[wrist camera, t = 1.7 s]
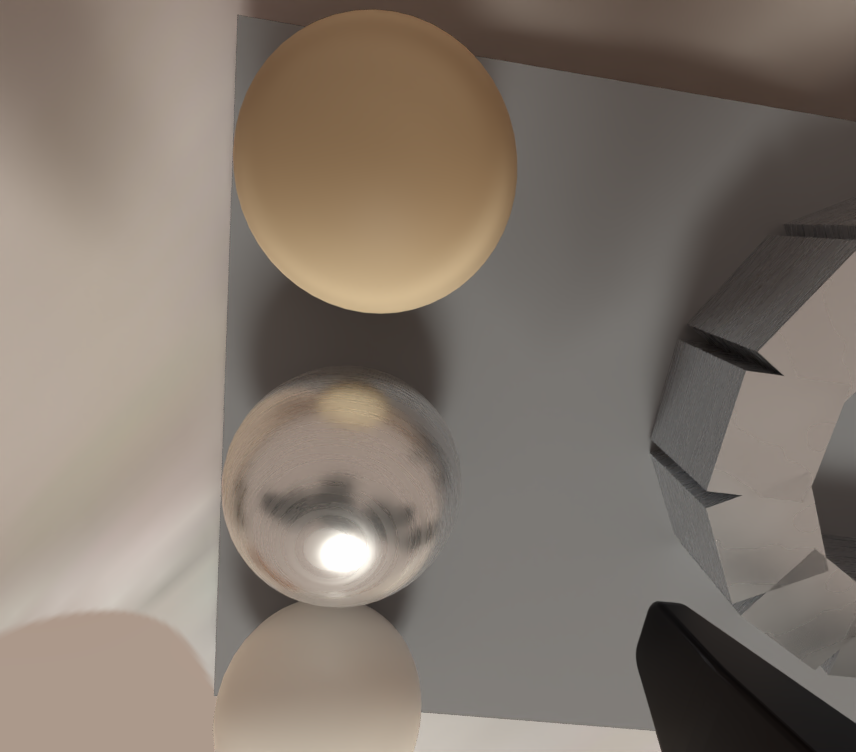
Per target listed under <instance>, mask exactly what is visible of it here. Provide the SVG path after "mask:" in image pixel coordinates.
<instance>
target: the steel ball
mask: <svg viewBox="0 0 856 752" xmlns="http://www.w3.org/2000/svg"><path fill="white" fill-rule="evenodd" d="M460 497H461V468H460V462H459V457H458V452H457V449H456V446H455V443H454V441H453V438H452V435H451V433H450V431H449V429H448V427H447V425H446V423H445V421H444V420H443V418H442V417H441V416H440V414H439V413H438V411H437V410H436V409H435V408H434V407H433V405H432V404H431V403H430V402H429V401H428V400H427V399H426V398H425V397H424V396H423V395H422V394H421V393H419V392H418V391H417V390H416V389H415V388H413V387H412V386H410V385H409V384H407V383H405V382H404V381H402V380H400V379H398V378H396V377H394V376H392V375H390V374H387V373H384V372H381V371H378V370H375V369H370V368H365V367H359V366H331V367H325V368H320V369H315V370H312V371H309V372H306V373H303V374H300V375H298V376H296V377H294V378H292V379H290V380H288V381H285V382H284V383H282V384H281V385H279V386H278V387H276V388H275V389H273V390H272V391H270V392H269V393H268V394H267V395H266V396H265V397H264V398H263V399H261V400H260V401H259V402H258V403H257V404H256V405H255V406H254V407H253V408H252V410H251V411H250V412H249V413H248V414H247V416H246V417H245V419H244V420H243V422H242V423H241V425H240V427H239V428H238V430H237V432H236V433H235V435H234V437H233V440H232V442H231V444H230V446H229V449H228V453H227V457H226V460H225V464H224V468H223V475H222V507H223V513H224V518H225V522H226V525H227V528H228V531H229V533H230V536H231V539H232V541H233V543H234V545H235V547H236V549H237V551H238V552H239V554H240V555H241V557H242V558H243V559H244V561H245V562H246V564H247V565H248V566H249V567H250V568H251V569H252V571H253V572H254V573H255V574H256V575H257V576H258V577H259V578H260V579H262V580H263V581H264V582H265V583H266V584H267V585H269V586H270V587H272V588H273V589H275V590H276V591H278V592H280V593H282V594H284V595H286V596H288V597H290V598H292V599H295V600H298V601H300V602H303V603H307V604H311V605H316V606H322V607H335V608H343V607H355V606H360V605H366V604H369V603H373V602H376V601H379V600H381V599H384V598H386V597H388V596H391V595H392V594H394V593H396V592H398V591H399V590H401V589H403V588H405V587H406V586H408V585H409V584H410V583H412V582H413V581H414V580H416V579H417V578H418V577H419V576H420V575H421V574H422V573H423V572H424V571H425V570H426V569H427V568H428V567H429V566H430V565H431V564H432V562H433V561H434V560H435V559H436V557H437V556H438V555H439V554H440V552H441V550H442V549H443V547H444V545H445V543H446V542H447V540H448V538H449V536H450V534H451V531H452V529H453V526H454V524H455V521H456V517H457V513H458V509H459V504H460Z"/></svg>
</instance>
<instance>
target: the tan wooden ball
mask: <svg viewBox="0 0 856 752" xmlns="http://www.w3.org/2000/svg"><path fill="white" fill-rule="evenodd" d="M233 168H234V177H235V184H236V190H237V194H238V198H239V201H240V205H241V209H242V211H243V214H244V216H245V219H246V221H247V224H248V226H249V228H250V230H251V232H252V234H253V235H254V237H255V239H256V241H257V242H258V244H259V246H260V247H261V248H262V250H263V251H264V253H265V254H266V255H267V257H268V258H269V259H270V261H271V262H272V263H273V264H274V265H275V266H276V267H277V268H278V269H279V270H280V271H281V272H282V273H283V274H284V275H285V276H286V277H287V278H288V279H290V280H291V281H292V282H293V283H294V284H296V285H297V286H298V287H300V288H301V289H303V290H305V291H306V292H308V293H309V294H311V295H312V296H314V297H317V298H319V299H321V300H323V301H325V302H327V303H329V304H332V305H335V306H338V307H341V308H344V309H348V310H353V311H358V312H364V313H378V314H382V313H398V312H403V311H408V310H413V309H416V308H419V307H422V306H425V305H428V304H431V303H433V302H435V301H437V300H439V299H441V298H443V297H445V296H447V295H448V294H450V293H452V292H453V291H455V290H456V289H458V288H459V287H461V286H462V285H463V284H464V283H465V282H466V281H468V280H469V279H470V278H471V277H472V276H473V275H474V274H475V273H476V272H477V271H478V270H479V269H480V268H481V266H482V265H483V264H484V263H485V262H486V260H487V259H488V258H489V256H490V255H491V253H492V252H493V250H494V249H495V247H496V246H497V244H498V242H499V240H500V238H501V236H502V234H503V232H504V230H505V227H506V225H507V222H508V219H509V217H510V214H511V210H512V206H513V202H514V198H515V191H516V183H517V151H516V143H515V135H514V131H513V127H512V124H511V120H510V116H509V113H508V111H507V108H506V106H505V103H504V100H503V98H502V96H501V94H500V92H499V90H498V89H497V87H496V85H495V83H494V81H493V79H492V78H491V77H490V75H489V74H488V72H487V71H486V70H485V68H484V67H483V66H482V64H481V63H480V62H479V61H478V60H477V58H476V57H475V56H474V55H473V54H472V53H471V52H470V51H469V50H468V49H467V48H466V47H465V46H464V45H462V44H461V43H460V42H459V41H457V40H456V39H455V38H454V37H452V36H451V35H450V34H448V33H446V32H445V31H443V30H441V29H440V28H438V27H436V26H435V25H433V24H431V23H428V22H426V21H424V20H421V19H419V18H416V17H414V16H410V15H406V14H402V13H398V12H394V11H385V10H375V9H372V10H354V11H349V12H344V13H339V14H334V15H332V16H329V17H326V18H324V19H321V20H318V21H315V22H314V23H312V24H310V25H308V26H306V27H305V28H303V29H301V30H299V31H298V32H296V33H295V34H294V35H292V36H291V37H290V38H288V39H287V40H286V41H285V42H283V43H282V44H281V45H280V46H279V47H278V48H277V49H276V50H275V51H274V52H273V53H272V54H271V55H270V56H269V57H268V59H267V60H266V61H265V63H264V64H263V65H262V67H261V68H260V70H259V71H258V72H257V74H256V75H255V77H254V79H253V81H252V83H251V85H250V87H249V89H248V90H247V92H246V95H245V98H244V100H243V103H242V106H241V108H240V111H239V116H238V120H237V124H236V129H235V136H234V146H233Z"/></svg>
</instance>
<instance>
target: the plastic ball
mask: <svg viewBox="0 0 856 752" xmlns="http://www.w3.org/2000/svg"><path fill="white" fill-rule="evenodd" d="M420 719H421V691H420V682H419V677H418V673H417V670H416V666H415V662H414V660H413V657H412V655H411V653H410V651H409V648H408V646H407V644H406V643H405V641H404V640H403V638H402V636H401V635H400V634H399V632H398V631H397V630H396V629H395V627H394V626H393V625H392V624H391V623H390V622H389V621H388V620H387V619H386V618H385V617H383V616H382V615H381V614H379V613H378V612H377V611H375V610H374V609H372V608H370V607H368V606H366V605H360V606H355V607H343V608H335V607H322V606H316V605H311V604H307V603H303V602H300V601H299V602H296V603H294V604H291V605H289V606H287V607H284V608H283V609H281V610H279V611H277V612H276V613H274V614H273V615H271V616H270V617H268V618H267V619H266V620H265V621H263V622H262V623H261V624H260V625H259V626H258V627H257V628H256V629H255V630H254V631H253V632H252V633H251V634H250V635H249V636H248V637H247V638H246V639H245V641H244V642H243V643H242V645H241V646H240V648H239V649H238V650H237V652H236V653H235V655H234V656H233V658H232V660H231V662H230V664H229V666H228V668H227V670H226V672H225V674H224V676H223V679H222V683H221V686H220V689H219V692H218V695H217V699H216V706H215V711H214V720H213V741H214V749H215V752H413V751H414V748H415V745H416V741H417V737H418V732H419V727H420Z"/></svg>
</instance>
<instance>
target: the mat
mask: <svg viewBox="0 0 856 752" xmlns="http://www.w3.org/2000/svg"><path fill="white" fill-rule="evenodd" d="M303 28H305V26H299V25H294V24H288V23H282V22H276V21H271V20H265V19H259V18H253V17H247V16H242V15H238V17H237V46H236V75H235V104H234V132H233V146H234V136H235V129H236V124H237V120H238V116H239V111H240V108H241V106H242V103H243V100H244V98H245V95H246V92H247V90H248V89H249V87H250V85H251V83H252V81H253V79H254V77H255V75H256V74H257V72H258V71H259V70H260V68H261V67H262V65H263V64H264V63H265V61H266V60H267V59H268V57H269V56H270V55H271V54H272V53H273V52H274V51H275V50H276V49H277V48H278V47H279V46H280V45H281V44H282V43H283V42H285V41H286V40H287V39H288V38H290V37H291V36H292V35H294V34H295V33H296V32H298V31H299V30H301V29H303ZM475 57H476V58H477V60H478V61H479V62H480V63H481V64H482V66H483V67H484V68H485V70H486V71H487V72H488V74H489V75H490V77H491V78H492V79H493V81H494V83H495V85H496V87H497V89H498V90H499V92H500V94H501V96H502V98H503V100H504V103H505V106H506V108H507V111H508V113H509V116H510V120H511V124H512V127H513V131H514V135H515V143H516V151H517V183H516V191H515V198H514V202H513V206H512V210H511V214H510V217H509V219H508V222H507V225H506V227H505V230H504V232H503V234H502V236H501V238H500V240H499V242H498V244H497V246H496V247H495V249H494V250H493V252H492V253H491V255H490V256H489V258H488V259H487V260H486V262H485V263H484V264H483V265H482V266H481V268H480V269H479V270H478V271H477V272H476V273H475V274H474V275H473V276H472V277H471V278H470V279H469V280H468V281H466V282H465V283H464V284H463V285H462V286H461V287H459V288H458V289H456V290H455V291H453V292H452V293H450V294H448V295H447V296H445V297H443V298H441V299H439V300H437V301H435V302H433V303H431V304H428V305H425V306H422V307H419V308H416V309H413V310H408V311H403V312H398V313H382V314H378V313H364V312H358V311H353V310H348V309H344V308H341V307H338V306H335V305H332V304H329V303H327V302H325V301H323V300H321V299H319V298H317V297H314V296H312V295H311V294H309V293H308V292H306V291H305V290H303V289H301V288H300V287H298V286H297V285H296V284H294V283H293V282H292V281H291V280H290V279H288V278H287V277H286V276H285V275H284V274H283V273H282V272H281V271H280V270H279V269H278V268H277V267H276V266H275V265H274V264H273V263H272V262H271V261H270V259H269V258H268V257H267V255H266V254H265V253H264V251H263V250H262V248H261V247H260V246H259V244H258V242H257V241H256V239H255V237H254V235H253V234H252V232H251V230H250V228H249V226H248V224H247V221H246V219H245V216H244V214H243V211H242V209H241V205H240V201H239V198H238V194H237V190H236V184H235V177H234V168H233V161H232V190H231V219H230V248H229V277H228V306H227V335H226V364H225V393H224V422H223V451H222V475H223V468H224V464H225V460H226V457H227V453H228V449H229V446H230V444H231V442H232V440H233V437H234V435H235V433H236V432H237V430H238V428H239V427H240V425H241V423H242V422H243V420H244V419H245V417H246V416H247V414H248V413H249V412H250V411H251V410H252V408H253V407H254V406H255V405H256V404H257V403H258V402H259V401H260V400H261V399H263V398H264V397H265V396H266V395H267V394H268V393H269V392H270V391H272V390H273V389H275V388H276V387H278V386H279V385H281V384H282V383H284V382H285V381H288V380H290V379H292V378H294V377H296V376H298V375H300V374H303V373H306V372H309V371H312V370H315V369H320V368H325V367H331V366H359V367H365V368H370V369H375V370H378V371H381V372H384V373H387V374H390V375H392V376H394V377H396V378H398V379H400V380H402V381H404V382H405V383H407V384H409V385H410V386H412V387H413V388H415V389H416V390H417V391H418V392H419V393H421V394H422V395H423V396H424V397H425V398H426V399H427V400H428V401H429V402H430V403H431V404H432V405H433V407H434V408H435V409H436V410H437V411H438V413H439V414H440V416H441V417H442V418H443V420H444V421H445V423H446V425H447V427H448V429H449V431H450V433H451V435H452V438H453V441H454V443H455V446H456V449H457V452H458V457H459V462H460V468H461V497H460V504H459V509H458V513H457V517H456V521H455V524H454V526H453V529H452V531H451V534H450V536H449V538H448V540H447V542H446V543H445V545H444V547H443V549H442V550H441V552H440V554H439V555H438V556H437V557H436V559H435V560H434V561H433V562H432V564H431V565H430V566H429V567H428V568H427V569H426V570H425V571H424V572H423V573H422V574H421V575H420V576H419V577H418V578H417V579H416V580H414V581H413V582H412V583H410V584H409V585H408V586H406V587H405V588H403V589H401V590H399V591H398V592H396V593H394V594H392V595H391V596H388V597H386V598H384V599H381V600H379V601H376V602H373V603H369V604H366V606H368V607H370V608H372V609H374V610H375V611H377V612H378V613H379V614H381V615H382V616H383V617H385V618H386V619H387V620H388V621H389V622H390V623H391V624H392V625H393V626H394V627H395V629H396V630H397V631H398V632H399V634H400V635H401V636H402V638H403V640H404V641H405V643H406V644H407V646H408V648H409V651H410V653H411V655H412V657H413V660H414V662H415V666H416V670H417V673H418V677H419V682H420V691H421V712H424V713H437V714H449V715H462V716H474V717H487V718H499V719H512V720H525V721H537V722H550V723H562V724H575V725H588V726H600V727H613V728H625V729H638V730H650V731H655V727H654V724H653V720H652V717H651V713H650V710H649V707H648V703H647V700H646V696H645V693H644V689H643V686H642V682H641V679H640V675H639V672H638V668H637V664H636V647H637V643H638V640H639V637H640V634H641V631H642V627H643V624H644V621H645V618H646V615H647V611H648V609H649V607H650V605H651V604H652V603H653V602H656V601H664V602H675V603H681V604H684V605H686V606H688V607H689V608H691V609H692V610H693V611H695V612H696V613H698V614H699V615H701V616H702V617H704V618H705V619H706V620H708V621H709V622H711V623H712V624H714V625H715V626H716V627H718V628H719V629H721V630H722V631H724V632H725V633H727V634H728V635H729V636H731V637H732V638H734V639H735V640H737V641H738V642H740V643H741V644H742V645H744V646H745V647H747V648H748V649H750V650H751V651H752V652H754V653H755V654H757V655H758V656H760V657H761V658H763V659H764V660H765V661H767V662H768V663H770V664H771V665H773V666H774V667H776V668H777V669H778V670H780V671H781V672H783V673H784V674H786V675H787V676H788V677H790V678H791V679H793V680H794V681H796V682H797V683H799V684H800V685H801V686H803V687H804V688H806V689H807V690H809V691H810V692H812V693H813V694H814V695H816V696H817V697H819V698H820V699H822V700H823V701H825V702H826V703H827V704H829V705H830V706H832V707H833V708H835V709H836V710H837V711H839V712H840V713H842V714H843V715H845V716H846V717H848V718H849V719H850V720H852V721H853V722H855V723H856V678H854V677H843V676H832V675H828V674H827V673H826V672H825V671H824V670H823V668H822V667H821V666H819V667H818V668H817V669H816V670H814V669H812V668H811V667H810V666H808V665H807V664H805V663H804V662H803V661H801V660H800V659H799V658H797V657H796V656H795V655H793V654H792V653H791V652H789V651H788V650H786V649H785V648H784V647H782V646H781V645H780V644H778V643H777V642H776V641H774V640H773V639H772V638H770V637H769V636H767V635H766V634H765V633H763V632H762V631H761V630H759V629H758V628H757V627H755V626H754V625H753V624H751V623H750V622H748V621H747V620H746V619H744V618H743V617H742V616H740V614H739V613H738V612H737V611H736V610H735V608H734V607H733V606H732V605H731V604H730V602H729V601H728V600H727V599H726V597H725V596H724V595H723V594H722V593H721V591H720V590H719V589H718V588H717V587H716V585H715V584H714V583H713V582H712V581H711V579H710V578H709V577H708V576H707V575H706V573H705V572H704V571H703V570H702V568H701V567H700V566H699V565H698V564H697V562H696V561H695V560H694V559H693V558H692V556H691V555H690V554H689V553H688V552H687V550H686V549H685V548H684V547H683V546H682V544H681V542H680V540H679V539H678V538H677V537H676V536H675V534H674V532H673V529H672V526H671V522H670V519H669V516H668V512H667V509H666V506H665V503H664V499H663V496H662V493H661V489H660V486H659V483H658V479H657V476H656V473H655V469H654V466H653V463H652V459H651V456H650V453H649V452H652V451H655V450H658V449H660V447H658V446H657V445H656V444H655V443H654V442H653V441H652V440H651V439H650V434H651V431H652V427H653V424H654V420H655V417H656V413H657V410H658V406H659V403H660V399H661V396H662V392H663V388H664V385H665V381H666V378H667V374H668V371H669V367H670V364H671V360H672V357H673V353H674V350H675V346H676V343H677V339H680V340H688V341H695V342H702V343H707V342H706V341H705V340H704V339H703V338H702V337H701V336H699V335H698V334H697V333H696V332H695V331H694V330H693V329H692V328H690V327H689V326H688V325H687V322H688V321H689V320H690V319H691V318H692V317H693V316H694V315H695V314H696V313H697V312H698V310H699V309H700V308H701V307H702V306H703V305H704V304H705V303H706V302H707V301H708V300H709V299H710V297H711V296H712V295H713V294H714V293H715V292H716V291H717V290H718V289H719V288H720V287H721V286H722V284H723V283H724V282H725V281H726V280H727V279H728V278H729V277H730V276H731V275H732V274H733V273H734V271H735V270H736V269H737V268H738V267H739V266H740V265H741V264H742V263H743V262H744V261H745V260H746V258H747V257H748V256H749V255H750V254H751V253H752V252H753V251H754V250H755V249H756V248H757V246H758V245H759V244H760V243H761V242H762V241H763V240H764V239H765V238H766V237H767V236H768V235H776V236H786V232H785V227H784V224H785V223H788V222H790V221H793V220H795V219H798V218H800V217H803V216H805V215H808V214H810V213H813V212H816V211H818V210H821V209H823V208H826V207H828V206H831V205H833V204H836V203H838V202H841V201H843V200H846V199H848V198H851V197H853V196H856V122H855V121H850V120H844V119H838V118H832V117H826V116H821V115H815V114H809V113H803V112H797V111H792V110H786V109H780V108H774V107H768V106H763V105H757V104H751V103H745V102H740V101H734V100H728V99H722V98H716V97H711V96H705V95H699V94H693V93H687V92H682V91H676V90H670V89H664V88H658V87H653V86H647V85H641V84H635V83H630V82H624V81H618V80H612V79H606V78H601V77H595V76H589V75H583V74H577V73H572V72H566V71H560V70H554V69H548V68H543V67H537V66H531V65H525V64H520V63H514V62H508V61H502V60H496V59H491V58H485V57H479V56H475ZM812 491H813V496H814V501H815V506H816V511H817V516H818V520H819V525H820V530H821V534H825V535H834V536H843V537H852V538H856V392H855V393H854V394H853V395H852V396H851V397H850V398H849V399H848V400H847V401H846V402H844V405H843V407H842V410H841V412H840V415H839V418H838V420H837V423H836V425H835V428H834V430H833V433H832V436H831V438H830V441H829V443H828V446H827V448H826V451H825V454H824V456H823V459H822V461H821V464H820V466H819V469H818V472H817V474H816V477H815V479H814V482H813V484H812ZM296 602H299V601H298V600H295V599H292V598H290V597H288V596H286V595H284V594H282V593H280V592H278V591H276V590H275V589H273V588H272V587H270V586H269V585H267V584H266V583H265V582H264V581H263V580H262V579H260V578H259V577H258V576H257V575H256V574H255V573H254V572H253V571H252V569H251V568H250V567H249V566H248V565H247V564H246V562H245V561H244V559H243V558H242V557H241V555H240V554H239V552H238V551H237V549H236V547H235V545H234V543H233V541H232V539H231V536H230V533H229V531H228V528H227V525H226V522H225V518H224V513H223V507H222V480H221V508H220V537H219V566H218V595H217V624H216V653H215V682H214V696H217V695H218V692H219V689H220V686H221V683H222V679H223V676H224V674H225V672H226V670H227V668H228V666H229V664H230V662H231V660H232V658H233V656H234V655H235V653H236V652H237V650H238V649H239V648H240V646H241V645H242V643H243V642H244V641H245V639H246V638H247V637H248V636H249V635H250V634H251V633H252V632H253V631H254V630H255V629H256V628H257V627H258V626H259V625H260V624H261V623H262V622H263V621H265V620H266V619H267V618H268V617H270V616H271V615H273V614H274V613H276V612H277V611H279V610H281V609H283V608H284V607H287V606H289V605H291V604H294V603H296Z"/></svg>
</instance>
